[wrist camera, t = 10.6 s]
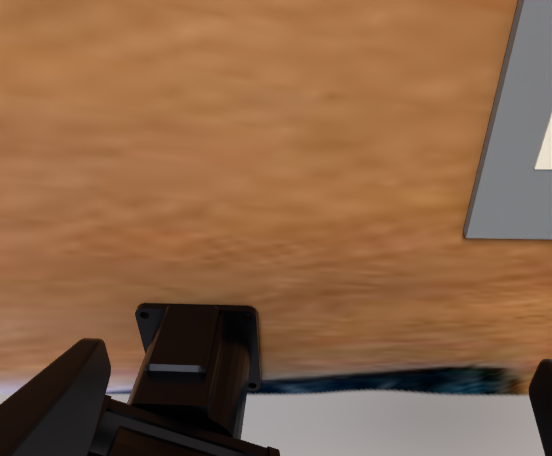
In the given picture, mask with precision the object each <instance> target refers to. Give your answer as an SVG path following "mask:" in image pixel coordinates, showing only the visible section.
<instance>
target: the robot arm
mask: <svg viewBox="0 0 552 456" xmlns="http://www.w3.org/2000/svg"><path fill="white" fill-rule="evenodd" d="M144 312H146V313H144ZM147 313H148V314H147ZM245 315H250V316H245ZM135 316H136V320H137V323H138V327H139V331H140V335H141V339H142V342H143V346H144V350H145V354H146V355H145V357H144V360H143V363H142V365H141V368H140V371H139V373H138V376H137V378H136V381H135V384H134V386H133V389H132V392H131V394H130V397H129V400H128V402H127V404H126V403H123V402H120V401H117V400H114V399H111V396H108V395H105V393H106V389H107V386H108V382H109V378H110V373H111V365H110V361H109V357H108V354H107V350H106V346H105V343H104V341H103V340H102V339H94V338H84V339H81V340H80V341H78V342H77V343H76V344H75V345H73V346H72V347H71V348H70V349H68V350H67V351H66V352H65V353H63V354H62V355H61V356H60V357H58V358H57V359H56V360H55V361H54V362H52V363H51V364H50V365H49V366H47V367H46V368H45V369H44V370H42V371H41V372H40V373H39V374H37V375H36V376H35V377H34V378H33V379H31V380H30V381H29V382H28V383H26V384H25V385H24V386H23V387H21V388H20V389H19V390H18V391H16V392H15V393H14V394H13V395H11V396H10V397H9V398H8V399H7V400H6V401H4V402H3V403H2V404H0V456H280V453H279V450H278V449H275V448H272V447H267V448H265V447H262V446H259V445H255V444H252V443H249V442H246V441H243V440H241V432H242V425H243V418H244V410H245V403H246V395H247V391H257V390H259V389H260V387H261V367H260V351H259V335H258V319H257V311H256V310H255V309H254V308H253V307H251V306H235V305H195V304H155V303H143V304H140V305H139V306H138V308H137V310H136V312H135ZM529 397H530V401H531V405H532V408H533V412H534V415H535V419H536V423H537V426H538V430H539V434H540V438H541V441H542V445H543V449H544V452H545V456H552V359H543V360H542V361H541V362H540V363H539V365H538V367H537V369H536V372H535V374H534V376H533V378H532V380H531V383H530V385H529Z"/></svg>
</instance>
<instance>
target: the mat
mask: <svg viewBox="0 0 552 456" xmlns="http://www.w3.org/2000/svg"><path fill="white" fill-rule="evenodd" d="M463 233H464V235H465V237H466V238H491V239H552V0H518V4H517V8H516V12H515V16H514V20H513V25H512V29H511V33H510V37H509V41H508V46H507V50H506V54H505V58H504V62H503V67H502V71H501V75H500V79H499V83H498V87H497V92H496V96H495V100H494V104H493V108H492V113H491V117H490V121H489V125H488V129H487V134H486V138H485V142H484V146H483V150H482V154H481V159H480V163H479V167H478V171H477V175H476V180H475V184H474V188H473V192H472V196H471V200H470V205H469V209H468V213H467V217H466V221H465V226H464V230H463Z"/></svg>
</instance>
